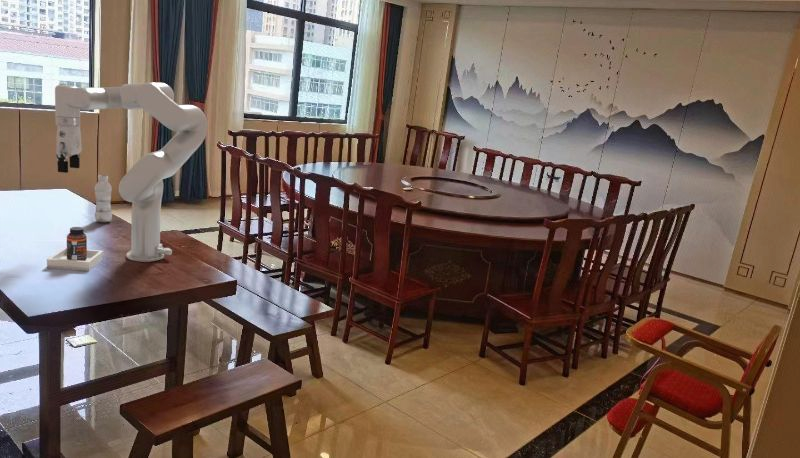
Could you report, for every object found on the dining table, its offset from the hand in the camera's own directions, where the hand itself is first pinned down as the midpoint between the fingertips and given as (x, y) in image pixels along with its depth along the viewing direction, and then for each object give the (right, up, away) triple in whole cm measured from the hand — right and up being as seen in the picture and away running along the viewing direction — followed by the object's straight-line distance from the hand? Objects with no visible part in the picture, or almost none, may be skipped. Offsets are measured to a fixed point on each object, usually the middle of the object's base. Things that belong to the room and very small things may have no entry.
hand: (68, 170), depth 206 cm
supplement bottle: (+8, -32, -9) cm, 34 cm away
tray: (+8, -33, -9) cm, 35 cm away
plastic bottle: (-9, -18, +41) cm, 46 cm away
